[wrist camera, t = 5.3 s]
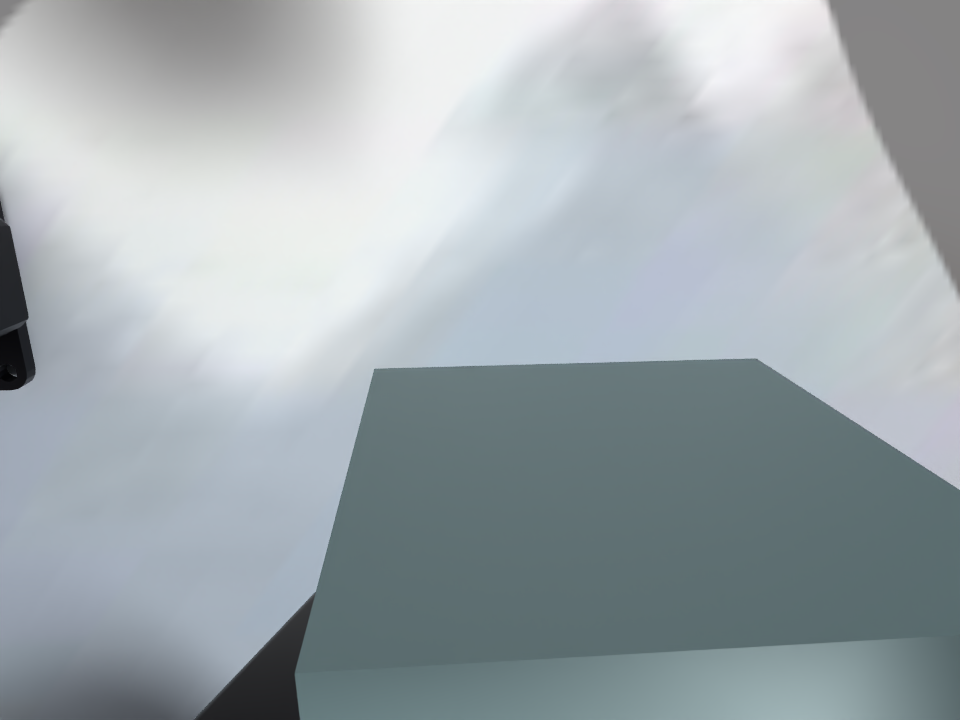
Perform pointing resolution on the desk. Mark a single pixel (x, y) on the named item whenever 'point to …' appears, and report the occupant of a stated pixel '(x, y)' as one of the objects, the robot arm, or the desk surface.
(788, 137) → the desk surface
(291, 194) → the desk surface
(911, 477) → the teal block
